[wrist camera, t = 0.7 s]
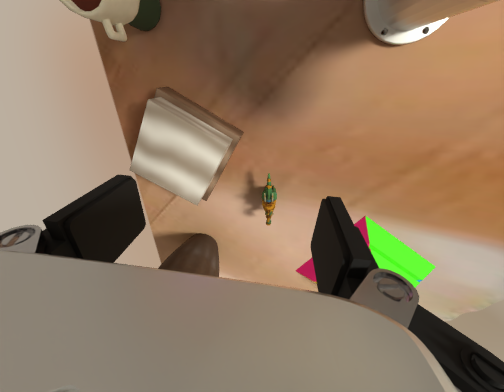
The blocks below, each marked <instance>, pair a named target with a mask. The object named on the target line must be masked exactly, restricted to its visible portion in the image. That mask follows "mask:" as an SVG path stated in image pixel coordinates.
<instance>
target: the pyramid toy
mask: <svg viewBox="0 0 504 392" xmlns="http://www.w3.org/2000/svg"><path fill="white" fill-rule="evenodd" d="M354 226H356V227H358V228H359V230H360V232H361V234H362V235H363V237H364V239H365V241H366V243H367V245H368V247H369V249H370V251H371V253H372V255H373V257H374V259H375V261H376V263H377V265H378V266H379V268H380V269H387V270H391V271H393V272H395V273H398V274H400V275H401V276H403V277H404V278H406V279H407V280H408V281H409V282H410V283H411V284H412V285H413V286H414V287H416V286H417V285H418V284H419V283H420V281H422V280H423V279H424V278H425V277H426V276H427V275H428V274H429V273H430V272H431V271H432V270H433V269H434V268H435V266H434V265H432V264H431V263H430V262H428V261H427V260H425V259H424V258H423V257H421V256H420V255H419V254H417V253H416V252H414V251H413V250H412V249H410V248H409V247H408V246H406V245H405V244H404V243H402V242H401V241H399V240H398V239H397V238H395V237H394V236H393V235H391V234H390V233H388V232H387V231H386V230H384V229H383V228H382V227H380V226H379V225H377V224H376V223H375V222H373V221H372V220H371V219H369V218H368V217H367V216H364V217H363V218H362V219H360V220H359V221H358V222H357V223H355V224H354ZM296 271H297V272H298V273H300V274H302V275H303V276H305V277H306V278H308V279H310V280H311V281H313V282H315V283H316V284H317V280H316V275H315V269H314V264H313V258H311V259H310V260H308V261H307V262H306V263H305V264H303V265H302V266H301V267H300V268H298V269H297V270H296Z"/></svg>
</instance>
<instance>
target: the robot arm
mask: <svg viewBox="0 0 504 392" xmlns="http://www.w3.org/2000/svg"><path fill="white" fill-rule="evenodd" d="M496 1H499V0H364V15H365V20H366V23H367V25H368V28H369V29H370V31H371V32H372V33H373V35H374V36H375V37H377V38H378V39H379V40H381V41H383V42H385V43H387V44H392V45H403V44H408V43H412V42H415V41H418V40H421V39H423V38H425V37H427V36H428V35H430V34H431V33H433V32H434V31H435V30H437V29H438V28H439V27H440V26H441V25H442V24H443V23H444V22H446V21H447V20H448V18H449V17H452V16H455V15H458V14H461V13H464V12H467V11H469V10H472V9H475V8H478V7H481V6H484V5H487V4H490V3H493V2H496ZM423 29H424V32H423V33H422V30H423ZM381 31H383V32H384V33H383V35H381ZM43 222H44V224H45V226H46V228H47V229H45V230H44V231H42V230H41V228H40V227H39V226H36V225H24V226H19V227H15V228H11V229H9V230H6V231H4V232H1V233H0V392H504V362H503V361H501V360H500V359H499V358H497V357H496V356H495V355H493V354H492V353H491V352H489V351H488V350H486V349H485V348H483V347H482V346H480V345H478V344H477V343H476V342H474V341H472V340H471V339H470V338H468V337H466V336H465V335H464V334H462V333H461V332H459V331H458V330H456V329H454V328H453V327H452V326H450V325H449V324H447V323H446V322H444V321H443V320H441V319H440V318H438V317H437V316H435V315H434V314H432V313H431V312H429V311H427V310H426V309H424V308H423V307H421V306H420V305H418V302H419V295H418V293H417V290H416V289H415V287H414V286H413V285H412V284H411V283H410V282H409V281H408V280H407V279H406V278H404V277H403V276H401V275H400V274H398V273H395V272H393V271H391V270H387V269H380V268H379V266H378V265H377V263H376V261H375V259H374V257H373V255H372V253H371V251H370V249H369V247H368V245H367V243H366V241H365V239H364V237H363V235H362V234H361V232H360V230H359V228H358V227H356V226H354V224H353V222H352V220H351V218H350V216H349V214H348V212H347V210H346V208H345V206H344V204H343V202H342V200H341V198H340V197H331V196H327V198H326V199H322V201H321V205H320V209H319V213H318V217H317V221H316V225H315V229H314V233H313V237H312V241H311V252H312V258H313V264H314V269H315V275H316V280H317V286H318V292H314V291H309V290H303V289H297V288H292V287H284V286H277V285H271V284H264V283H257V282H250V281H243V280H236V279H229V278H222V277H215V276H207V275H200V274H193V273H186V272H178V271H171V270H164V269H156V268H149V267H141V266H134V265H126V264H118V263H114V262H115V260H116V259H117V258H118V257H119V256H120V255H121V254H122V253H123V252H124V250H125V249H126V248H127V247H128V246H129V245H130V244H131V243H132V242H133V240H134V239H135V238H136V237H137V236H138V235H139V234H140V233H141V231H142V230H143V229H144V227H145V225H146V222H145V217H144V213H143V209H142V205H141V201H140V196H139V192H138V189H137V184H136V181H135V180H134V179H133V178H132V177H131V176H126V175H116V176H115V177H114V178H112V179H110V180H108V181H107V182H105V183H103V184H102V185H100V186H98V187H97V188H95V189H93V190H92V191H90V192H88V193H87V194H85V195H83V196H82V197H80V198H78V199H77V200H75V201H73V202H72V203H70V204H68V205H67V206H65V207H64V208H62V209H60V210H59V211H57V212H55V213H54V214H52V215H51V216H49V217H47V218H46V219H44V220H43Z"/></svg>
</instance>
